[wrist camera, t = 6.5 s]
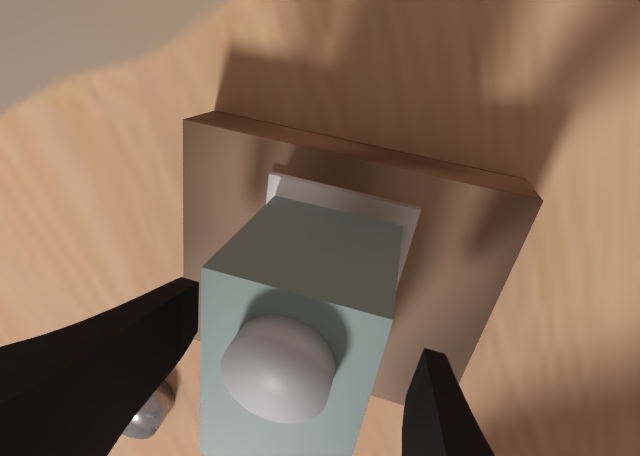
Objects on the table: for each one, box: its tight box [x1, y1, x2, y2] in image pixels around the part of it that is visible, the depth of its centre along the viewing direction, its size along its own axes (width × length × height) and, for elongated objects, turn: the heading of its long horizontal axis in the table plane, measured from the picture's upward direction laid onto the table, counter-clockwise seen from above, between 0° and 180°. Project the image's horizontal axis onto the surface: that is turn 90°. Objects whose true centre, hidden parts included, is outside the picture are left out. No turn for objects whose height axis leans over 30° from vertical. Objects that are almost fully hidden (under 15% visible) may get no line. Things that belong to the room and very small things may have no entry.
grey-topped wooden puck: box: [122, 380, 175, 439], centre depth 23 cm, size 4×4×2 cm
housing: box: [199, 196, 403, 456], centre depth 12 cm, size 7×4×6 cm, turn 171°
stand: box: [183, 111, 543, 406], centre depth 15 cm, size 12×10×2 cm
